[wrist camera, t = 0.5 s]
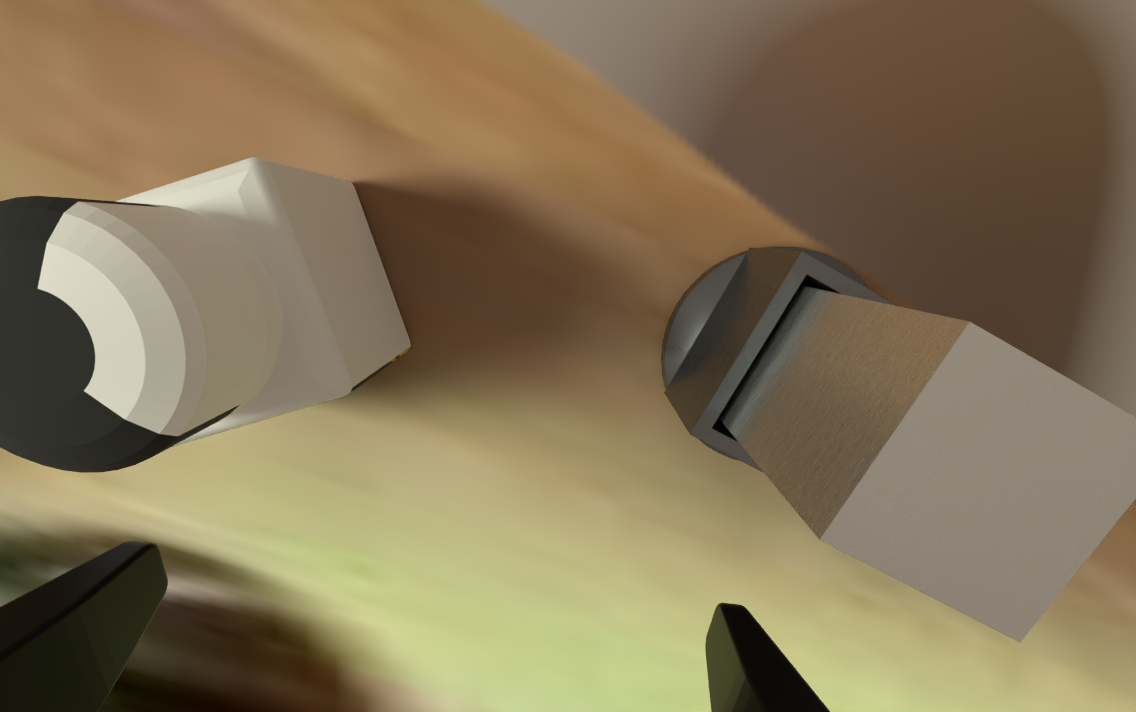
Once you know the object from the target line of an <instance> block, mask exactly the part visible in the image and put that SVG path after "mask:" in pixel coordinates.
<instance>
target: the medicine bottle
mask: <svg viewBox="0 0 1136 712" xmlns="http://www.w3.org/2000/svg"><path fill="white" fill-rule="evenodd" d="M410 347H411V345H410V340H409V337H408V334H407V331H406V328H405V326H404V323H403V320H402V317H401V315H400V312H399V309H398V306H397V303H396V301H395V298H394V295H393V292H392V290H391V287H390V284H389V281H388V278H387V276H386V273H385V270H384V267H383V265H382V262H381V259H380V256H379V253H378V251H377V248H376V245H375V242H374V240H373V237H372V234H371V231H370V228H369V226H368V223H367V220H366V217H365V215H364V212H363V209H362V206H361V203H360V201H359V198H358V195H357V192H356V190H355V187H354V186H353V184H352V183H351V182H350V181H348V180H346V179H342V178H338V177H334V176H330V175H326V174H322V173H318V172H314V171H310V170H306V169H302V168H298V167H294V166H290V165H286V164H282V163H278V162H274V161H270V160H266V159H262V158H258V157H256V158H248V159H245V160H242V161H239V162H236V163H233V164H230V165H227V166H224V167H220V168H217V169H214V170H211V171H208V172H205V173H202V174H199V175H196V176H193V177H189V178H186V179H183V180H180V181H177V182H174V183H171V184H168V185H165V186H162V187H158V188H155V189H152V190H149V191H146V192H143V193H140V194H137V195H134V196H130V197H127V198H124V199H121V200H118V201H115V202H114V201H100V200H87V199H74V198H61V197H45V196H30V197H18V198H13V199H8V200H4V201H0V447H1V448H3V449H5V450H7V451H8V452H10V453H12V454H14V455H17V456H19V457H22V458H25V459H27V460H30V461H33V462H36V463H38V464H41V465H44V466H48V467H52V468H56V469H60V470H66V471H74V472H105V471H112V470H119V469H122V468H126V467H129V466H133V465H136V464H138V463H140V462H142V461H144V460H147V459H149V458H151V457H153V456H155V455H157V454H158V453H160V452H162V451H164V450H166V449H168V448H170V447H173V446H176V445H179V444H183V443H186V442H190V441H193V440H196V439H200V438H203V437H207V436H210V435H214V434H217V433H220V432H224V431H227V430H231V429H234V428H238V427H241V426H244V425H248V424H251V423H255V422H258V421H261V420H265V419H268V418H272V417H275V416H279V415H282V414H285V413H289V412H292V411H296V410H299V409H303V408H306V407H309V406H313V405H316V404H320V403H323V402H326V401H330V400H333V399H337V398H340V397H344V396H346V395H347V394H349V393H351V392H352V391H353V390H355V389H356V388H358V387H359V386H360V385H362V384H363V383H364V382H366V381H367V380H369V379H370V378H371V377H373V376H374V375H376V374H377V373H378V372H380V371H381V370H382V369H384V368H385V367H387V366H388V365H389V364H391V363H392V362H394V361H395V360H396V359H398V358H399V357H400V356H402V355H403V354H405V353H406V352H407V351H409V349H410Z"/></svg>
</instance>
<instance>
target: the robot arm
mask: <svg viewBox="0 0 1136 712" xmlns="http://www.w3.org/2000/svg"><path fill="white" fill-rule="evenodd" d="M167 586H168V578H167V574H166V570H165V567H164V563H163V559H162V555H161V552H160V549H159V547H158V546H157V545H156V544H154V543H149V542H140V541H128V542H125V543H122V544H120V545H118V546H116V547H114V548H112V549H110V550H109V551H107V552H105V553H103V554H101V555H99V556H97V557H95V558H93V559H91V560H89V561H87V562H85V563H84V564H82V565H80V566H78V567H76V568H74V569H72V570H70V571H68V572H66V573H64V574H62V575H60V576H59V577H57V578H55V579H53V580H51V581H49V582H47V583H45V584H43V585H41V586H39V587H37V588H35V589H34V590H32V591H30V592H28V593H26V594H24V595H22V596H20V597H18V598H16V599H14V600H12V601H11V602H9V603H7V604H5V605H3V606H1V607H0V712H97V711H98V710H99V708H100V707H101V705H102V704H103V702H104V701H105V699H106V698H107V696H108V695H109V693H110V691H111V690H112V688H113V686H114V685H115V683H116V681H117V680H118V678H119V676H120V674H121V673H122V671H123V669H124V667H125V665H126V664H127V662H128V660H129V658H130V656H131V655H132V653H133V651H134V649H135V648H136V646H137V644H138V642H139V640H140V639H141V637H142V635H143V633H144V631H145V630H146V628H147V626H148V624H149V622H150V621H151V619H152V617H153V615H154V613H155V612H156V610H157V608H158V606H159V605H160V603H161V601H162V599H163V597H164V595H165V593H166V590H167ZM706 661H707V671H708V681H709V691H710V701H711V711H712V712H830V711H829V710H828V708H827V707H826V706H825V705H824V704H823V702H822V701H821V700H820V699H819V697H818V696H817V695H816V694H815V692H814V691H813V690H812V689H811V687H810V686H809V685H808V684H807V683H806V681H805V680H804V679H803V678H802V676H801V675H800V674H799V673H798V671H797V670H796V669H795V668H794V666H793V665H792V664H791V663H790V662H789V660H788V659H787V658H786V657H785V655H784V654H783V653H782V652H781V650H780V649H779V648H778V647H777V645H776V644H775V643H774V642H773V641H772V639H771V638H770V637H769V636H768V634H767V633H766V632H765V631H764V629H763V628H762V627H761V626H760V624H759V623H758V622H757V621H756V620H755V618H754V617H753V616H752V615H751V613H750V612H749V611H748V610H747V609H746V608H745V607H744V606H742V605H737V604H728V603H720V604H718V605H717V607H716V609H715V612H714V615H713V618H712V621H711V624H710V627H709V630H708V633H707V637H706Z"/></svg>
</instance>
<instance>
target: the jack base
mask: <svg viewBox="0 0 1136 712" xmlns="http://www.w3.org/2000/svg"><path fill="white" fill-rule="evenodd" d="M800 285H801V286H806V287H810V288H815V289H820V290H824V291H829V292H834V293H838V294H843V295H848V296H852V297H857V298H862V299H866V300H871V301H876V302H880V303H885V304H890V305H894V306H897V305H895V304H893V303H892V302H890V301H888V300H886V299H885V298H883V297H881V296H879V295H878V294H876V293H874V292H872V291H871V290H870V289H869V288H868V287H867V286H866V285H865V283H864V282H863V281H862V280H861V278H859V277H858V276H857V275H856V274H855V273H854V272H853V271H852V270H851V269H849V268H848V267H846V266H845V265H843V264H842V263H840V262H839V261H837V260H835V259H833V258H831V257H829V256H827V255H825V254H821V253H818V252H815V251H812V250H807V249H801V248H794V247H765V248H749V250H748V251H745V252H742V253H739V254H736V255H734V256H731V257H729V258H727V259H725V260H723V261H721V262H720V263H718V264H716V265H715V266H713V267H712V268H710V269H709V270H707V271H706V272H705V273H704V274H702V275H701V276H700V277H699V278H698V279H697V280H696V281H695V282H694V283H693V284H692V285H691V286H690V287H689V289H688V290H687V291H686V292H685V293H684V295H683V296H682V298H681V299H680V301H679V302H678V304H677V305H676V307H675V309H674V311H673V313H672V315H671V317H670V319H669V322H668V325H667V328H666V331H665V335H664V340H663V345H662V359H661V360H662V374H663V379H664V384H665V388H666V390H665V392H664V393H665V394H666V396H667V398H668V399H669V401H670V402H671V404H672V406H673V407H674V409H675V410H676V412H677V414H678V415H679V417H680V419H681V420H682V422H683V423H684V425H685V427H686V428H687V430H688V432H689V433H690V435H692V436H694V437H696V438H698V439H699V440H700V441H702V442H703V443H704V444H705V445H706V446H708V447H710V448H711V449H713V450H715V451H716V452H718V453H720V454H723V455H725V456H727V457H729V458H732V459H736V460H739V461H742V462H744V463H746V464H748V465H750V466H752V467H754V468H756V469H758V470H760V471H762V470H761V468H760V467H759V466H758V465H757V464H756V462H755V461H754V460H753V459H752V458H751V456H750V455H749V454H748V453H747V452H746V450H745V449H744V448H743V447H742V446H741V444H740V443H739V442H738V441H737V439H736V438H735V437H734V436H733V435H732V433H731V432H730V431H729V430H728V429H727V427H726V426H725V425H724V424H723V423H722V421H721V420H720V419H719V418H718V417H719V415H720V414H721V412H722V410H723V409H724V407H725V406H726V404H727V402H728V401H729V399H730V397H731V396H732V394H733V393H734V391H735V389H736V388H737V386H738V384H739V383H740V381H741V380H742V378H743V376H744V375H745V373H746V372H747V370H748V368H749V367H750V365H751V363H752V362H753V360H754V359H755V357H756V355H757V354H758V352H759V350H760V349H761V347H762V346H763V344H764V342H765V341H766V339H767V338H768V336H769V334H770V333H771V331H772V329H773V328H774V326H775V325H776V323H777V321H778V320H779V318H780V316H781V315H782V313H783V312H784V310H785V308H786V307H787V305H788V304H789V302H790V300H791V299H792V297H793V295H794V294H795V292H796V291H797V289H798V287H799V286H800ZM762 472H763V471H762Z"/></svg>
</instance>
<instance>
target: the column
mask: <svg viewBox="0 0 1136 712" xmlns="http://www.w3.org/2000/svg"><path fill="white" fill-rule="evenodd" d="M718 418H719V419H720V420H721V421H722V423H723V424H724V425H725V426H726V427H727V429H728V430H729V431H730V432H731V433H732V435H733V436H734V437H735V438H736V439H737V441H738V442H739V443H740V444H741V446H742V447H743V448H744V449H745V450H746V452H747V453H748V454H749V455H750V456H751V458H752V459H753V460H754V461H755V462H756V464H757V465H758V466H759V467H760V468H761V470H762V471H763V472H764V473H765V475H766V476H767V477H768V478H769V479H770V481H771V482H772V483H773V484H774V485H775V487H776V488H777V489H778V490H779V491H780V493H781V494H782V495H783V496H784V497H785V499H786V500H787V501H788V502H789V504H790V505H791V506H792V507H793V508H794V510H795V511H796V512H797V513H798V514H799V516H800V517H801V518H802V519H803V520H804V522H805V523H806V524H807V525H808V526H809V528H810V529H811V530H812V531H813V533H814V534H815V535H816V536H817V537H818V539H819V540H821V541H823V542H825V543H827V544H829V545H831V546H833V547H835V548H837V549H838V550H840V551H842V552H844V553H846V554H848V555H850V556H852V557H854V558H856V559H858V560H860V561H862V562H864V563H866V564H868V565H870V566H872V567H874V568H876V569H878V570H879V571H881V572H883V573H885V574H887V575H889V576H891V577H893V578H895V579H897V580H899V581H901V582H903V583H905V584H907V585H909V586H911V587H913V588H915V589H917V590H919V591H920V592H922V593H924V594H926V595H928V596H930V597H932V598H934V599H936V600H938V601H940V602H942V603H944V604H946V605H948V606H950V607H952V608H954V609H956V610H958V611H960V612H961V613H963V614H965V615H967V616H969V617H971V618H973V619H975V620H977V621H979V622H981V623H983V624H985V625H987V626H989V627H991V628H993V629H995V630H997V631H999V632H1001V633H1002V634H1004V635H1006V636H1008V637H1010V638H1012V639H1014V640H1016V641H1018V642H1021V641H1022V639H1023V638H1024V637H1025V636H1026V634H1027V633H1028V632H1029V631H1030V630H1031V628H1032V627H1033V626H1034V625H1035V623H1036V622H1037V621H1038V620H1039V618H1040V617H1041V616H1042V615H1043V613H1044V612H1045V611H1046V610H1047V608H1048V607H1049V606H1050V605H1051V603H1052V602H1053V601H1054V600H1055V598H1056V597H1057V596H1058V595H1059V593H1060V592H1061V591H1062V590H1063V588H1064V587H1065V586H1066V585H1067V583H1068V582H1069V581H1070V580H1071V578H1072V577H1073V576H1074V575H1075V574H1076V572H1077V571H1078V570H1079V569H1080V567H1081V566H1082V565H1083V564H1084V562H1085V561H1086V560H1087V559H1088V557H1089V556H1090V555H1091V554H1092V552H1093V551H1094V550H1095V549H1096V547H1097V546H1098V545H1099V544H1100V542H1101V541H1102V540H1103V539H1104V537H1105V536H1106V535H1107V534H1108V532H1109V531H1110V530H1111V529H1112V527H1113V526H1114V525H1115V524H1116V522H1117V521H1118V520H1119V519H1120V518H1121V516H1122V515H1123V514H1124V513H1125V511H1126V510H1127V509H1128V508H1129V506H1130V505H1131V504H1132V503H1133V501H1134V500H1135V499H1136V417H1134V416H1133V415H1131V414H1129V413H1128V412H1126V411H1124V410H1122V409H1121V408H1119V407H1117V406H1116V405H1114V404H1112V403H1110V402H1109V401H1107V400H1105V399H1103V398H1102V397H1100V396H1098V395H1096V394H1095V393H1093V392H1091V391H1089V390H1088V389H1086V388H1084V387H1083V386H1081V385H1079V384H1077V383H1076V382H1074V381H1072V380H1070V379H1069V378H1067V377H1065V376H1063V375H1062V374H1060V373H1058V372H1056V371H1054V370H1053V369H1051V368H1050V367H1048V366H1046V365H1044V364H1043V363H1041V362H1039V361H1037V360H1036V359H1034V358H1032V357H1030V356H1029V355H1027V354H1025V353H1023V352H1022V351H1020V350H1018V349H1016V348H1015V347H1013V346H1011V345H1009V344H1008V343H1006V342H1004V341H1003V340H1001V339H999V338H997V337H996V336H994V335H992V334H990V333H988V332H987V331H985V330H983V329H982V328H980V327H978V326H976V325H975V324H973V323H971V322H969V321H965V320H959V319H955V318H951V317H946V316H941V315H937V314H932V313H927V312H922V311H918V310H913V309H908V308H904V307H899V306H894V305H890V304H885V303H880V302H876V301H871V300H866V299H862V298H857V297H852V296H848V295H843V294H838V293H834V292H829V291H824V290H820V289H815V288H810V287H806V286H801V285H800V286H799V287H798V289H797V291H796V292H795V294H794V295H793V297H792V299H791V300H790V302H789V304H788V305H787V307H786V308H785V310H784V312H783V313H782V315H781V316H780V318H779V320H778V321H777V323H776V325H775V326H774V328H773V329H772V331H771V333H770V334H769V336H768V338H767V339H766V341H765V342H764V344H763V346H762V347H761V349H760V350H759V352H758V354H757V355H756V357H755V359H754V360H753V362H752V363H751V365H750V367H749V368H748V370H747V372H746V373H745V375H744V376H743V378H742V380H741V381H740V383H739V384H738V386H737V388H736V389H735V391H734V393H733V394H732V396H731V397H730V399H729V401H728V402H727V404H726V406H725V407H724V409H723V410H722V412H721V414H720V415H719V417H718Z"/></svg>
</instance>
